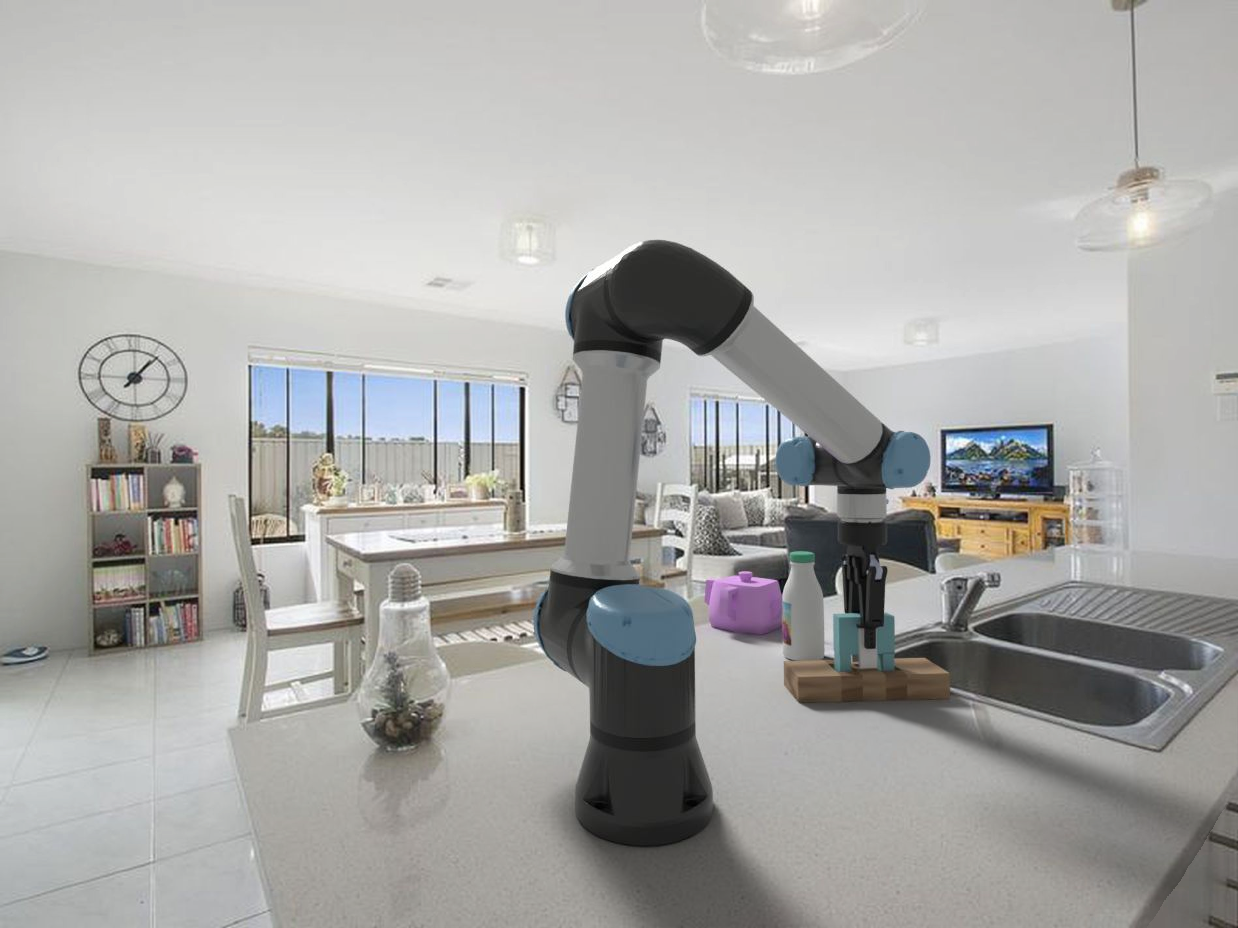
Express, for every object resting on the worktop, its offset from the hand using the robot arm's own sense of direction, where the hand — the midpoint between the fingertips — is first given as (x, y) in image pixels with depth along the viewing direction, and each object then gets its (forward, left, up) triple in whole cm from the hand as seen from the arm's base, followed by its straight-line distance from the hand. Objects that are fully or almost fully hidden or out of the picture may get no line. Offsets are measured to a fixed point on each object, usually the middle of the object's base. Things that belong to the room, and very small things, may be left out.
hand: (863, 663), depth 106 cm
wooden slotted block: (0, 0, -5) cm, 5 cm away
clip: (0, 0, -3) cm, 3 cm away
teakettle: (+43, +9, -5) cm, 44 cm away
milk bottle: (+19, +4, -5) cm, 20 cm away
